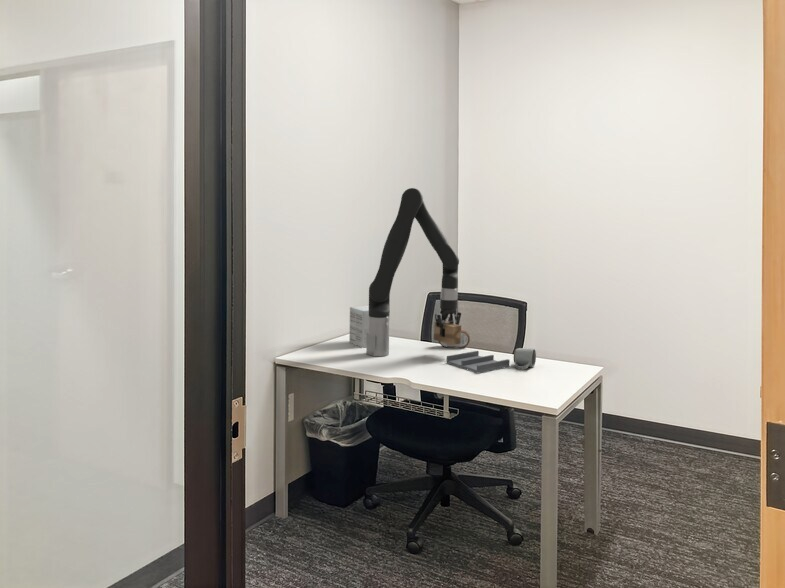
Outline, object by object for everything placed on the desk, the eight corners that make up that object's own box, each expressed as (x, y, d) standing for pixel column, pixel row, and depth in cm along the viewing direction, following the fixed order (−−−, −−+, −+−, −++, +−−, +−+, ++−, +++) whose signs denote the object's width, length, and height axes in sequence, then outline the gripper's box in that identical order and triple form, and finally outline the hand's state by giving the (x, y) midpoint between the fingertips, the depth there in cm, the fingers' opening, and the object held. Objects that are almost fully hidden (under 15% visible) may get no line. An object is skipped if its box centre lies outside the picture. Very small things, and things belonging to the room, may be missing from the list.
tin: (469, 347, 291) (470, 329, 290) (469, 348, 288) (470, 331, 287) (437, 345, 293) (438, 328, 291) (437, 347, 290) (438, 329, 288)
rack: (478, 373, 245) (478, 365, 245) (446, 363, 260) (446, 356, 260) (509, 366, 256) (509, 359, 256) (476, 357, 271) (477, 350, 271)
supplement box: (372, 339, 303) (372, 304, 301) (386, 345, 292) (387, 308, 290) (348, 342, 296) (349, 306, 294) (362, 348, 285) (362, 310, 283)
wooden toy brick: (452, 344, 266) (452, 326, 265) (433, 339, 275) (434, 322, 274) (460, 343, 269) (461, 325, 268) (442, 338, 278) (442, 321, 277)
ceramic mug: (516, 362, 263) (517, 345, 262) (535, 364, 260) (536, 347, 259) (510, 368, 254) (511, 350, 253) (530, 371, 251) (531, 352, 249)
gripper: (455, 296, 277) (453, 333, 279) (431, 298, 268) (429, 336, 271) (466, 298, 271) (464, 336, 273) (442, 300, 262) (440, 339, 265)
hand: (447, 335), depth 272 cm, fingers closed on wooden toy brick, 5 cm apart
